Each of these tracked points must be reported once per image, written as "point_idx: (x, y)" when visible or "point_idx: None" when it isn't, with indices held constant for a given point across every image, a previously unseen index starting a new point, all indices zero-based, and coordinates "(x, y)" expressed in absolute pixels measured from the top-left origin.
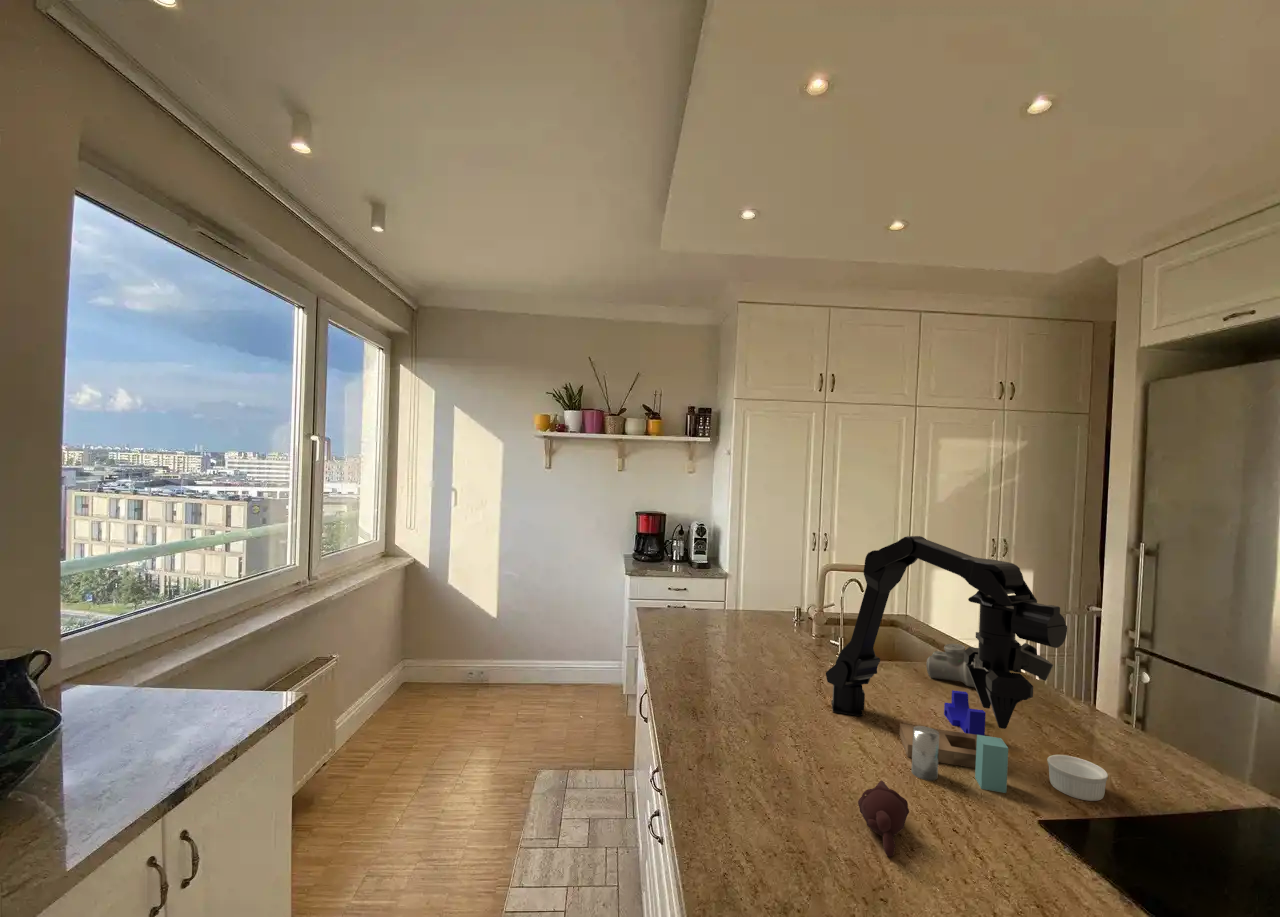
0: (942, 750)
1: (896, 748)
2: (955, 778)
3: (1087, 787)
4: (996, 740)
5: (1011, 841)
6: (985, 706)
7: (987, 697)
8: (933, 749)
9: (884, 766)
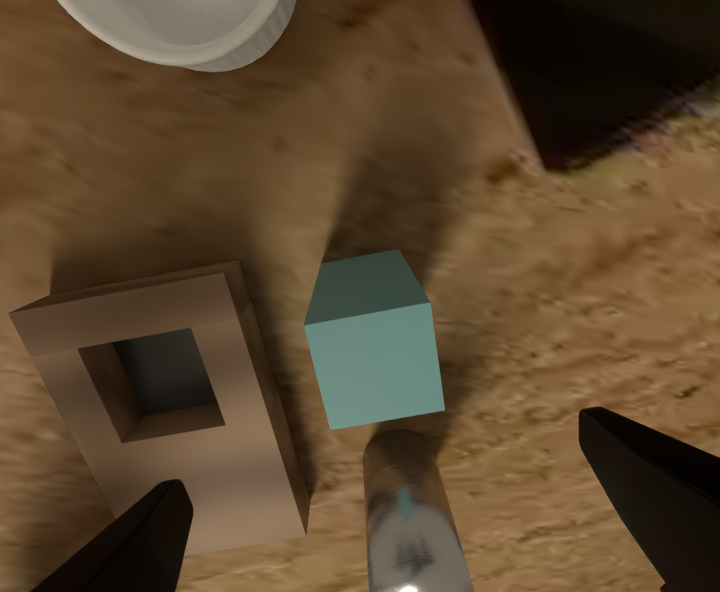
0: (279, 447)
1: None
2: None
3: None
4: (353, 349)
5: (703, 264)
6: (186, 511)
7: (138, 582)
8: (450, 524)
9: None
